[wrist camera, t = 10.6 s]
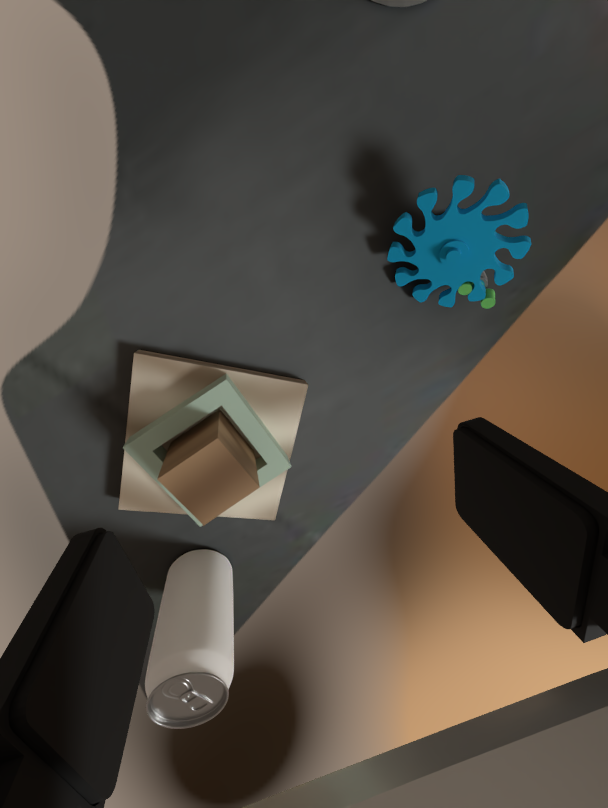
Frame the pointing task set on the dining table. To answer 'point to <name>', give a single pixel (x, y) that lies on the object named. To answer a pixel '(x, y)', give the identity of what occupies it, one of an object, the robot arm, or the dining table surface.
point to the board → (176, 382)
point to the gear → (459, 244)
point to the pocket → (220, 392)
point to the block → (210, 468)
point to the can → (192, 642)
